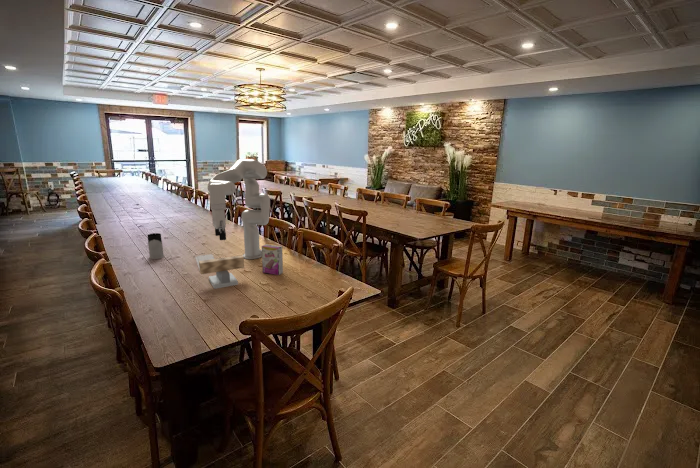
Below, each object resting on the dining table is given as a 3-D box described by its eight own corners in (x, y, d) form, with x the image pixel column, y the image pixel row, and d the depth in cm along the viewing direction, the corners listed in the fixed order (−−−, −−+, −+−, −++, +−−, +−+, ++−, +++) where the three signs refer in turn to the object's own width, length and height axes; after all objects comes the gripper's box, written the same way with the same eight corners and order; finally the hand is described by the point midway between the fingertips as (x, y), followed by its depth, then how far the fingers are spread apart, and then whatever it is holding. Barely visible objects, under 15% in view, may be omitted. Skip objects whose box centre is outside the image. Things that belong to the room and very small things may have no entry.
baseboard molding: (197, 273, 198) (219, 271, 203) (196, 269, 197) (219, 266, 203) (192, 258, 224) (212, 256, 230) (192, 254, 223) (212, 252, 229)
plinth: (231, 276, 194) (230, 264, 192) (238, 284, 182) (237, 272, 181) (208, 279, 188) (207, 267, 186) (214, 288, 176) (213, 275, 174)
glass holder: (148, 259, 218) (145, 236, 214) (150, 253, 230) (148, 231, 227) (163, 258, 221) (161, 235, 218) (165, 252, 234) (163, 230, 230)
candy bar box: (262, 273, 200) (260, 246, 196) (266, 270, 204) (265, 243, 201) (278, 275, 196) (278, 248, 192) (283, 273, 201) (282, 246, 197)
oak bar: (201, 274, 176) (200, 263, 175) (199, 272, 179) (198, 261, 178) (244, 267, 188) (243, 257, 186) (242, 265, 191) (241, 255, 189)
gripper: (207, 204, 186) (209, 234, 191) (214, 210, 172) (217, 242, 177) (221, 203, 190) (223, 233, 195) (229, 208, 176) (232, 240, 181)
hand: (220, 237), depth 186 cm, fingers open, 9 cm apart
